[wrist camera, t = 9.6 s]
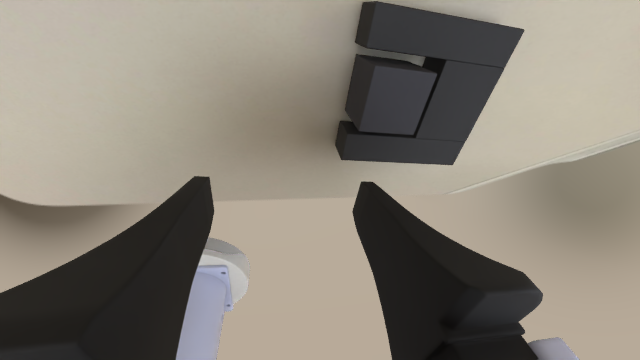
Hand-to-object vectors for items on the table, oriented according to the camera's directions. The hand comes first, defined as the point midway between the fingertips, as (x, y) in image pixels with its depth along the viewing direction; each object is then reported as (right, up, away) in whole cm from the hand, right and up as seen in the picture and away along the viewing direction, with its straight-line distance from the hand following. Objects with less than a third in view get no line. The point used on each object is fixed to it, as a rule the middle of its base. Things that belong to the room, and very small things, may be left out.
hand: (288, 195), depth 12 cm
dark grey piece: (+8, +8, +7) cm, 13 cm away
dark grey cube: (+6, +8, +6) cm, 12 cm away
